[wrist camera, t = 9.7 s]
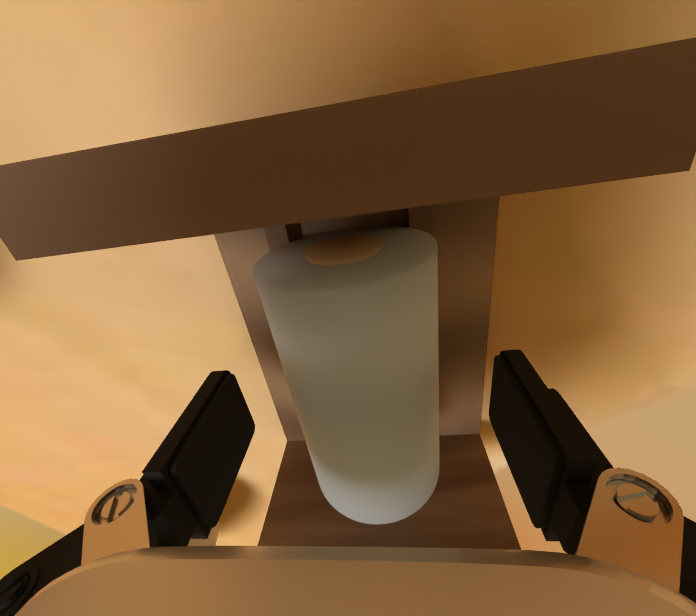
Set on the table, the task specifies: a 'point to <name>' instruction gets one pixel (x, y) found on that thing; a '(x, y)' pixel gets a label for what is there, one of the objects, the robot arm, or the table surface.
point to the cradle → (375, 210)
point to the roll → (361, 362)
